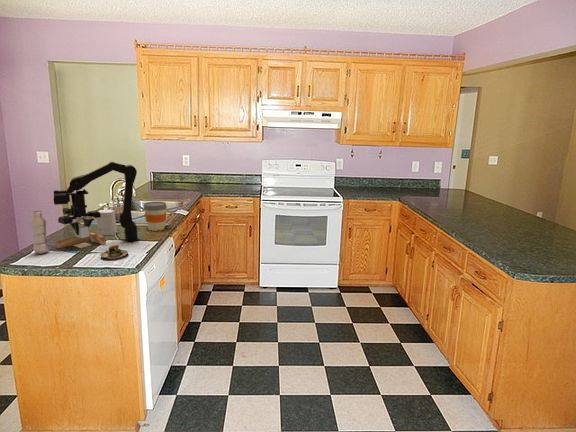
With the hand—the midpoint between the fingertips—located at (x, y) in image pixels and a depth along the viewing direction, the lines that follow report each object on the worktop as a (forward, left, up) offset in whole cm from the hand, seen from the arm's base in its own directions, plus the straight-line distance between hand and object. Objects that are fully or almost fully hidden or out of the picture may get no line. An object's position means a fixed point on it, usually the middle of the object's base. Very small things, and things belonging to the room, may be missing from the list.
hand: (81, 233), depth 198 cm
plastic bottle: (+4, +18, -6) cm, 19 cm away
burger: (-27, +1, -7) cm, 28 cm away
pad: (0, 0, -6) cm, 6 cm away
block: (0, 0, -1) cm, 1 cm away
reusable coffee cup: (-3, -43, -6) cm, 43 cm away
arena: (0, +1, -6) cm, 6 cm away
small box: (+9, -19, -6) cm, 22 cm away
